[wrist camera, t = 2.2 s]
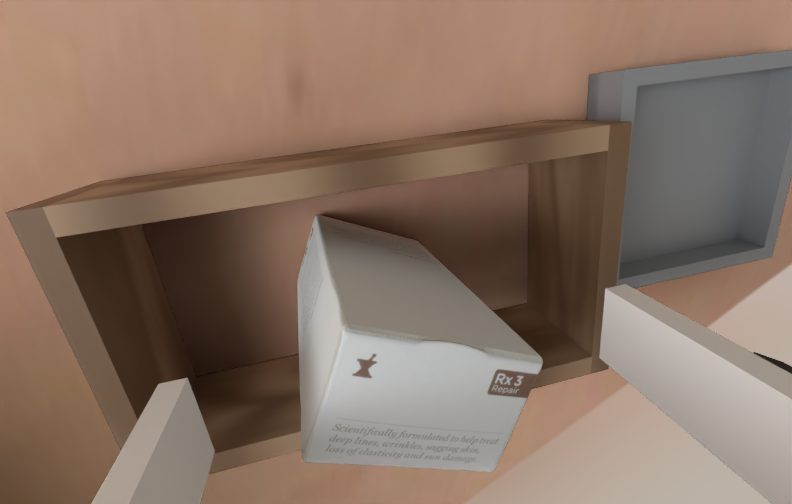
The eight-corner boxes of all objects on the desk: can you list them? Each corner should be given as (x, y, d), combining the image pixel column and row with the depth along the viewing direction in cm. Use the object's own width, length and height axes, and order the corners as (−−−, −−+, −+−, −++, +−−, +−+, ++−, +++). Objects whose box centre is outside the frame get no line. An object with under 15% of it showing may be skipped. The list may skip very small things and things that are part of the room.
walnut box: (182, 395, 22) (141, 492, 16) (100, 181, 17) (5, 212, 12) (541, 313, 25) (608, 368, 20) (545, 119, 21) (631, 121, 16)
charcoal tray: (577, 278, 25) (605, 294, 23) (589, 74, 21) (624, 69, 18) (731, 244, 27) (771, 257, 25) (771, 53, 23) (823, 46, 20)
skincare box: (295, 285, 21) (285, 479, 10) (315, 206, 20) (331, 324, 9) (400, 306, 23) (493, 489, 12) (425, 235, 22) (553, 362, 11)
